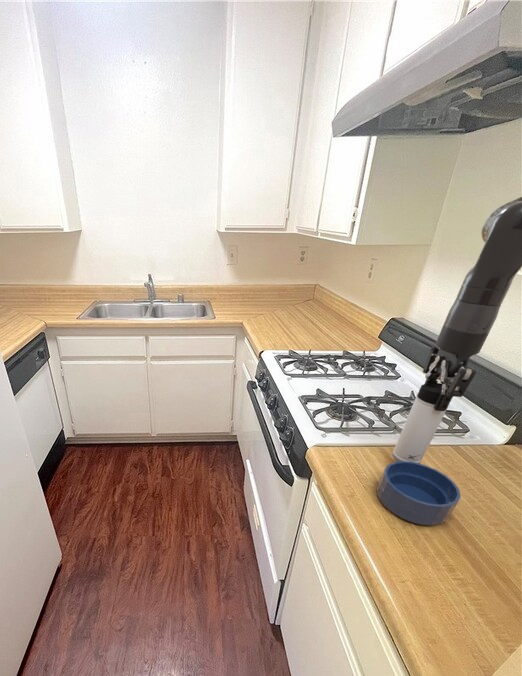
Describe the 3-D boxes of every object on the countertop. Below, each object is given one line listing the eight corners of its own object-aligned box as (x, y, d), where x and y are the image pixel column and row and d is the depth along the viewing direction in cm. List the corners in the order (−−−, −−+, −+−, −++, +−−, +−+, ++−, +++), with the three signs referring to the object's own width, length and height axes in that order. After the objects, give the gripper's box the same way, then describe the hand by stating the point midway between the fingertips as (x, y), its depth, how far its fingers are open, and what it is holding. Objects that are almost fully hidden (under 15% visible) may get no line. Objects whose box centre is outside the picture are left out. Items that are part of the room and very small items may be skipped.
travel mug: (413, 471, 81) (450, 395, 69) (386, 457, 85) (417, 383, 74) (426, 461, 84) (463, 387, 73) (399, 448, 88) (430, 376, 77)
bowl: (430, 484, 82) (441, 464, 78) (460, 531, 70) (474, 510, 67) (368, 478, 83) (376, 458, 80) (387, 522, 71) (397, 501, 68)
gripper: (511, 339, 60) (467, 421, 69) (468, 317, 72) (435, 389, 81) (465, 336, 61) (427, 417, 70) (430, 314, 73) (402, 386, 82)
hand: (432, 402), depth 76 cm, fingers closed on travel mug, 6 cm apart
